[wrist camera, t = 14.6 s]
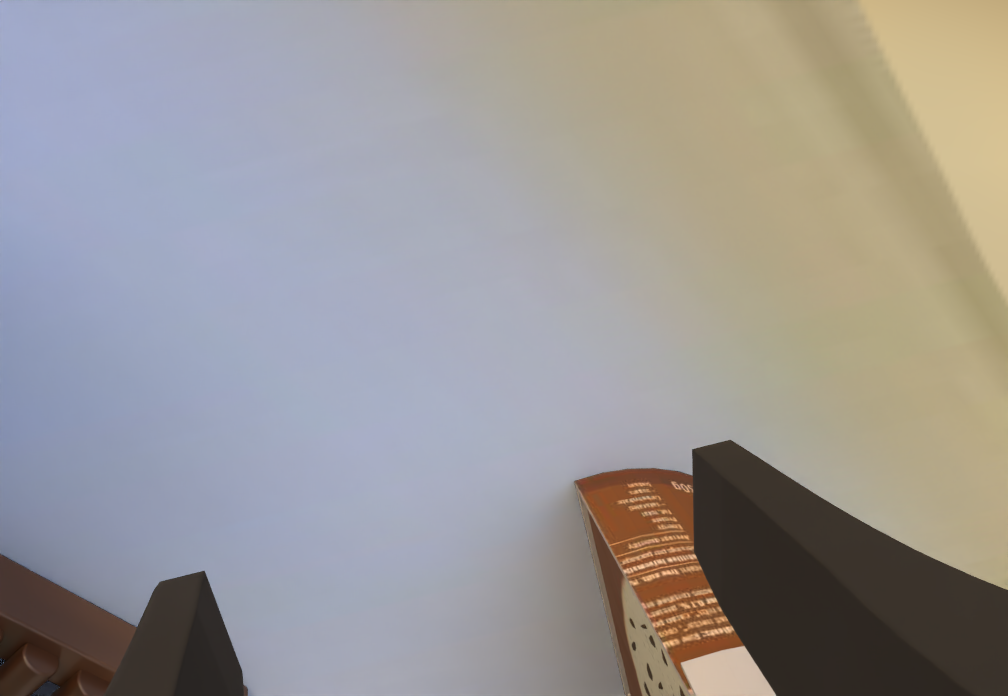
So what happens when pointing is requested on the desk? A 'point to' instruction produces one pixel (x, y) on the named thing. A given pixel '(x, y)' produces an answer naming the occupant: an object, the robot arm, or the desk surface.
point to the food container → (660, 589)
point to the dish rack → (55, 637)
